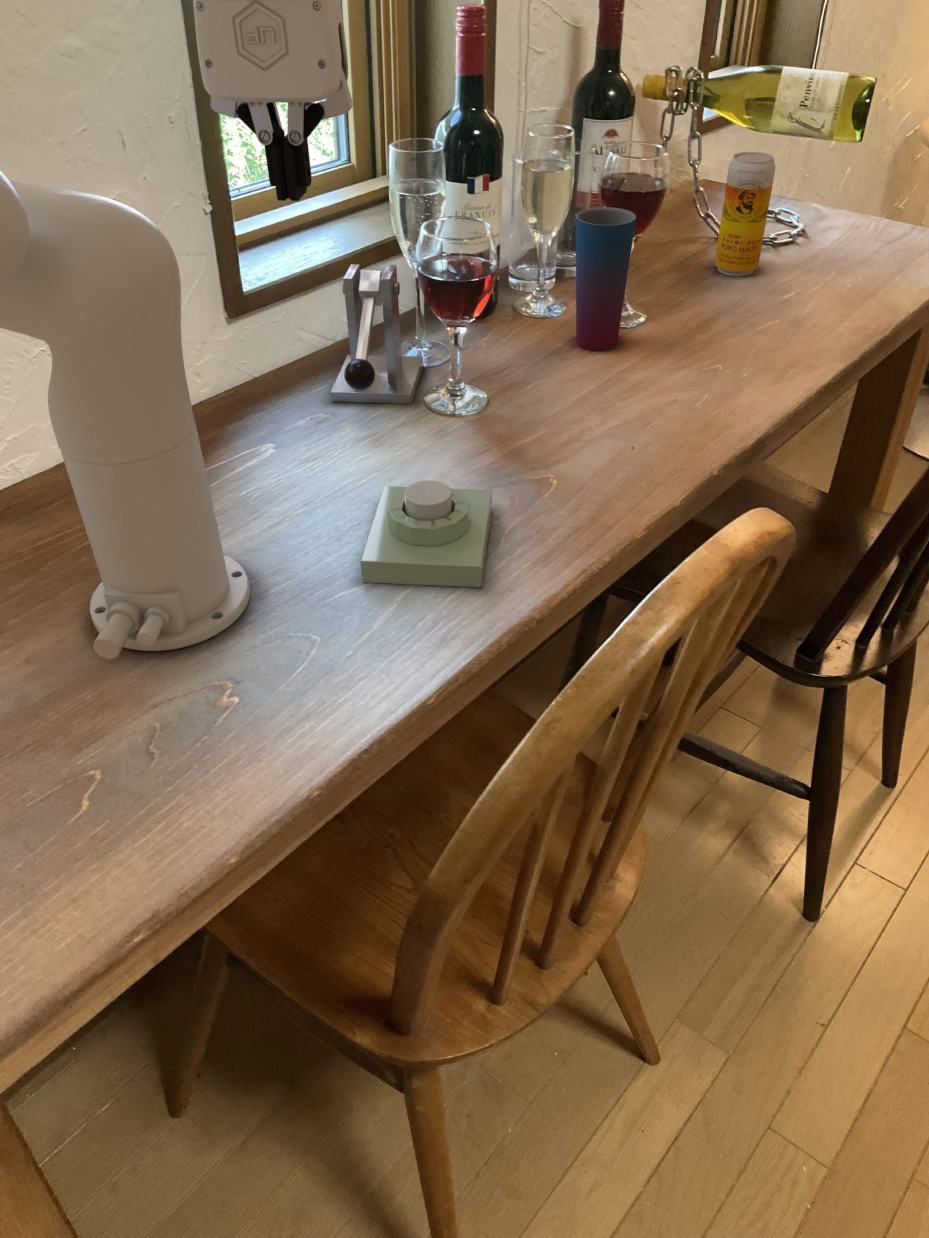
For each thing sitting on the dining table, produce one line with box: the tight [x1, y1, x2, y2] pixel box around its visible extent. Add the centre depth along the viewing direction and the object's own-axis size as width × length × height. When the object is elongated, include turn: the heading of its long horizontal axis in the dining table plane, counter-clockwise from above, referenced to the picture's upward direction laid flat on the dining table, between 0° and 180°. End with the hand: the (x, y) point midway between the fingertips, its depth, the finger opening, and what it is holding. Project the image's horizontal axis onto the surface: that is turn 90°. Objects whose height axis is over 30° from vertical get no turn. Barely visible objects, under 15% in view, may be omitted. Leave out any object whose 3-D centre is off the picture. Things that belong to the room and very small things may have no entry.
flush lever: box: [344, 269, 383, 390], centre depth 101 cm, size 14×3×3 cm, turn 175°
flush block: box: [360, 485, 493, 588], centre depth 83 cm, size 12×10×4 cm
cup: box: [575, 206, 637, 352], centre depth 113 cm, size 7×7×15 cm
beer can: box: [714, 151, 777, 277], centre depth 133 cm, size 6×6×15 cm
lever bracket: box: [330, 263, 424, 405], centre depth 106 cm, size 10×9×13 cm
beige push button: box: [404, 480, 452, 521], centre depth 82 cm, size 4×4×2 cm
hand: (292, 195), depth 76 cm, fingers closed
